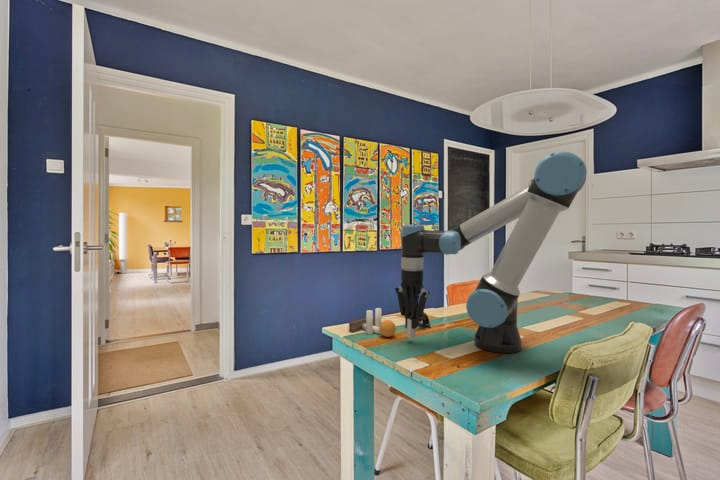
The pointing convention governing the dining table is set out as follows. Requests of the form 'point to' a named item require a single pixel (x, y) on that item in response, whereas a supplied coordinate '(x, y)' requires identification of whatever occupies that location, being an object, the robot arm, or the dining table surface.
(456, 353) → the dining table surface
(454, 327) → the dining table surface
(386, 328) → the ball
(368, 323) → the pin
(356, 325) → the back wall
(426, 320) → the pottery mug
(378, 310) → the pin
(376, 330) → the front pin
